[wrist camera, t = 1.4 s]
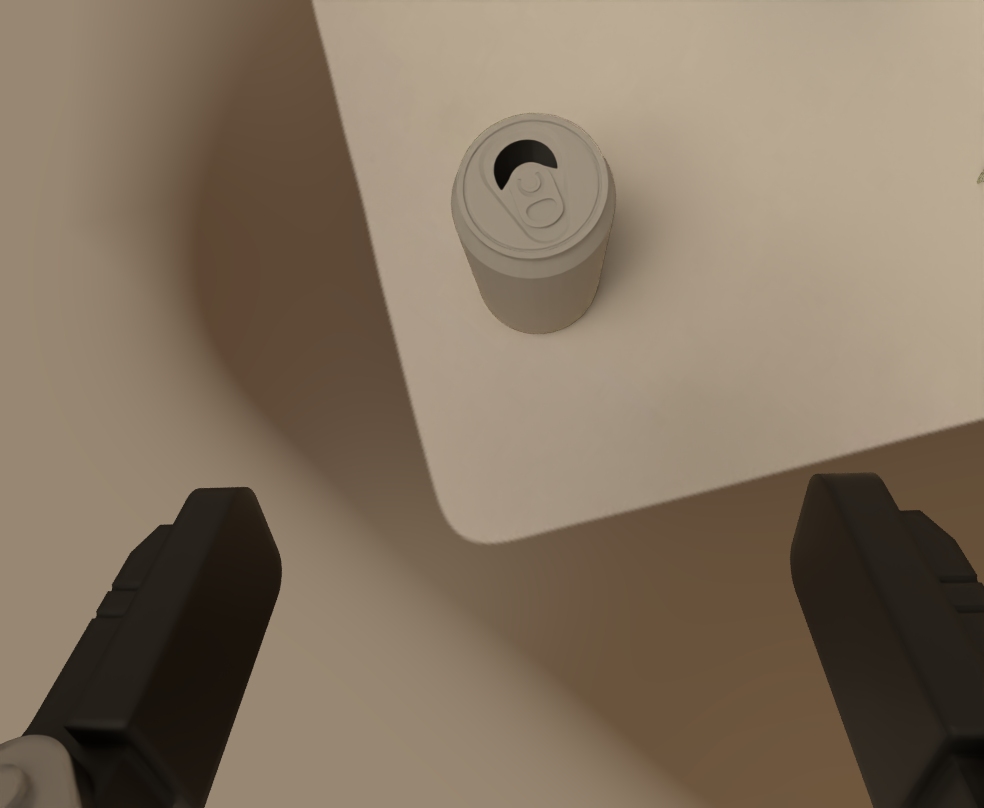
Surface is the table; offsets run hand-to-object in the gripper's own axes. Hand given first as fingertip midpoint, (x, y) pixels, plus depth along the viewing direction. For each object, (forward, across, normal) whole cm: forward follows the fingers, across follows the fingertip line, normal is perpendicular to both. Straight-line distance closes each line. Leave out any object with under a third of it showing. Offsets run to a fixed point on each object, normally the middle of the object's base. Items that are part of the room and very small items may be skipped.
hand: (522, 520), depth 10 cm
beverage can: (+27, 0, +10) cm, 29 cm away
